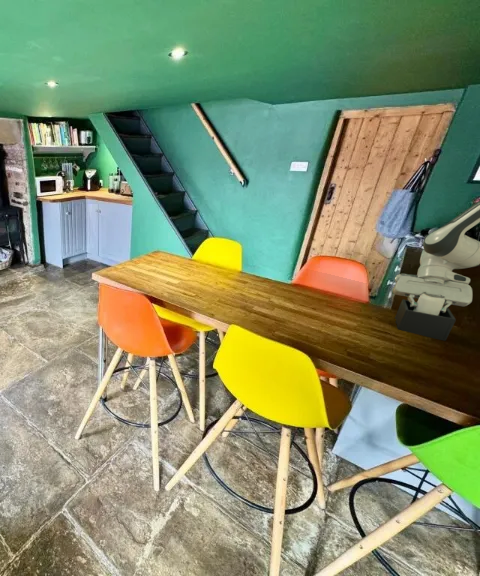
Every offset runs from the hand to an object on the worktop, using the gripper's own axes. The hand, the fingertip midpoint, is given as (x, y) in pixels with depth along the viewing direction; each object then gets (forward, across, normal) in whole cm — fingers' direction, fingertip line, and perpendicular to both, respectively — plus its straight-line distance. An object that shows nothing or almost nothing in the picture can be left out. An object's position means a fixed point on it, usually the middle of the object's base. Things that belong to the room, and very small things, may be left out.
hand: (427, 309), depth 112 cm
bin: (+6, 0, +6) cm, 9 cm away
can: (+4, 0, +5) cm, 7 cm away
